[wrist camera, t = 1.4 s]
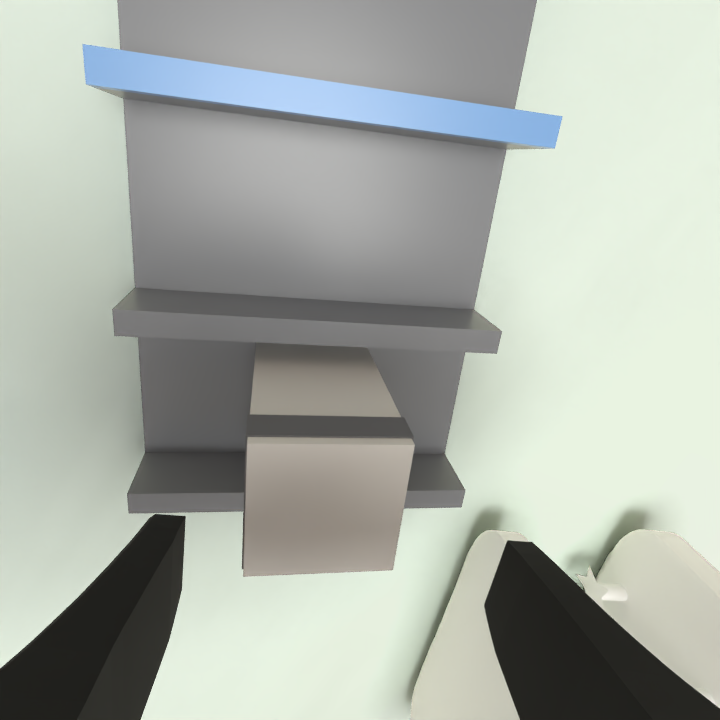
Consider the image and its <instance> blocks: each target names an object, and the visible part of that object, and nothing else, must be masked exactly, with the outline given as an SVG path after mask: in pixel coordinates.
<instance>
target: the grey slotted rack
mask: <svg viewBox="0 0 720 720" xmlns="http://www.w3.org/2000/svg"><path fill="white" fill-rule="evenodd" d="M536 2H537V0H118V17H119V33H120V49H121V50H118V49H112V48H105V47H98V46H92V45H85V44H83V55H84V67H85V78H86V84H87V85H89V86H92V87H95V88H97V89H100V90H102V91H105V92H108V93H110V94H113V95H116V96H118V97H121V98H124V115H125V131H126V147H127V164H128V180H129V196H130V213H131V229H132V245H133V262H134V278H135V288H134V289H133V290H132V291H131V292H130V293H129V294H128V295H127V296H126V297H125V298H124V299H123V300H122V301H121V302H120V303H119V304H118V305H116V306H115V307H114V308H113V309H112V310H113V323H114V335H115V336H130V337H138V343H139V360H140V376H141V392H142V408H143V425H144V441H145V454H144V456H143V459H142V461H141V463H140V466H139V468H138V470H137V472H136V475H135V477H134V479H133V482H132V484H131V486H130V489H129V491H128V493H127V498H128V510H129V513H176V512H231V511H244V475H245V438H246V426H247V416H248V414H250V407H251V396H252V385H253V374H254V363H255V352H256V342H258V343H280V344H301V345H323V346H344V347H366V348H368V350H369V352H370V354H371V356H372V358H373V360H374V362H375V364H376V366H377V368H378V371H379V373H380V375H381V377H382V379H383V381H384V383H385V385H386V387H387V389H388V391H389V393H390V395H391V397H392V399H393V401H394V403H395V405H396V407H397V409H398V412H399V414H400V416H401V417H404V418H405V420H406V422H407V424H408V426H409V428H410V430H411V432H412V434H413V436H414V439H413V442H414V444H415V447H414V453H413V458H412V464H411V470H410V475H409V481H408V487H407V492H406V498H405V504H404V508H452V507H462V503H463V499H464V494H465V489H464V487H463V485H462V483H461V482H460V480H459V478H458V476H457V475H456V473H455V471H454V469H453V468H452V466H451V464H450V462H449V461H448V459H447V457H446V455H445V454H444V453H445V449H446V444H447V439H448V434H449V429H450V424H451V419H452V414H453V409H454V404H455V399H456V395H457V390H458V385H459V380H460V375H461V370H462V365H463V360H464V355H465V352H473V353H495V354H497V351H498V346H499V342H500V338H501V333H502V331H501V330H500V329H498V328H497V327H496V326H495V325H493V324H492V323H491V322H489V321H488V320H487V319H485V318H484V317H483V316H482V315H480V314H479V313H478V312H476V311H475V310H474V306H475V301H476V296H477V291H478V287H479V282H480V277H481V272H482V267H483V262H484V257H485V252H486V247H487V242H488V237H489V233H490V228H491V223H492V218H493V213H494V208H495V203H496V198H497V193H498V188H499V184H500V179H501V174H502V169H503V164H504V159H505V154H506V150H507V149H547V148H555V145H556V141H557V137H558V133H559V129H560V124H561V120H562V116H556V115H549V114H542V113H536V112H529V111H523V110H516V109H515V105H516V100H517V95H518V90H519V85H520V80H521V76H522V71H523V66H524V61H525V56H526V51H527V46H528V41H529V36H530V31H531V26H532V22H533V17H534V12H535V7H536Z"/></svg>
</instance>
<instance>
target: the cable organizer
mask: <svg viewBox="0 0 720 720" xmlns="http://www.w3.org/2000/svg"><path fill="white" fill-rule="evenodd" d="M507 540H511V541H524V542H529V541H528V540H527V539H526V537H524V536H523V535H522V534H520V533H518V532H509V531H498V530H487V531H485V532H483V533H481V534H480V535H479V536H478V537H477V539H476V540H475V542H474V543H473V545H472V547H471V548H470V550H469V551H468V554H467V556H466V559H465V562H464V564H463V567H462V570H461V572H460V575H459V578H458V580H457V583H456V586H455V589H454V591H453V594H452V596H451V598H450V601H449V603H448V606H447V608H446V611H445V613H444V616H443V618H442V621H441V623H440V625H439V628H438V630H437V633H436V635H435V638H434V639H433V641H432V643H431V646H430V648H429V651H428V653H427V656H426V658H425V661H424V663H423V665H422V668H421V671H420V674H419V677H418V679H417V682H416V684H415V687H414V691H413V696H412V702H411V720H520V718H519V716H518V713H517V710H516V708H515V705H514V702H513V700H512V697H511V694H510V692H509V689H508V686H507V684H506V681H505V678H504V675H503V673H502V670H501V667H500V665H499V662H498V659H497V656H496V653H495V650H494V646H493V642H492V638H491V634H490V630H489V626H488V622H487V617H486V613H485V608H484V603H485V601H486V598H487V595H488V592H489V590H490V587H491V584H492V581H493V578H494V576H495V573H496V570H497V567H498V565H499V562H500V559H501V556H502V554H503V551H504V548H505V545H506V543H507ZM576 575H577V576H578V578H579V580H580V581H581V583H582V585H583V586H584V588H585V593H586V594H587V595H588V596H589V597H591V598H592V599H593V600H594V601H595V602H596V603H597V604H598V605H599V606H600V607H601V608H602V609H603V610H604V611H605V612H606V613H607V614H608V615H610V616H611V617H612V618H613V619H614V620H615V621H616V622H617V623H618V624H619V625H620V626H621V627H623V628H624V629H625V630H626V631H627V632H628V633H629V634H630V635H631V636H633V637H634V638H635V639H636V640H637V641H638V642H639V643H640V644H642V645H643V646H644V647H645V648H646V649H647V650H649V651H650V652H651V653H652V654H653V655H654V656H655V657H657V658H658V659H659V660H660V661H661V662H662V663H664V664H665V665H666V666H667V667H668V668H669V669H671V670H672V671H673V672H674V673H676V674H677V675H678V676H679V677H680V678H682V679H683V680H684V681H685V682H687V683H688V684H689V685H690V686H692V687H693V688H694V689H696V690H697V691H698V692H699V693H701V694H702V695H703V696H705V697H706V698H707V699H708V700H710V701H711V702H712V703H714V704H715V705H716V706H717V707H719V708H720V572H719V571H718V570H717V569H716V568H715V567H713V566H712V565H711V564H710V563H709V562H708V561H707V560H706V559H705V558H704V557H703V556H702V555H701V554H700V553H699V552H697V551H696V550H695V549H694V548H693V547H692V546H691V545H690V544H689V543H688V542H687V541H686V540H685V539H683V538H682V537H681V536H679V535H677V534H675V533H672V532H665V531H655V530H644V529H639V530H634V531H632V532H630V533H628V534H626V535H625V536H624V537H623V538H622V539H621V540H620V541H619V542H618V543H617V545H616V546H615V547H614V549H613V550H612V551H611V552H610V553H609V554H608V556H607V558H606V560H605V562H604V564H603V565H602V567H601V569H600V571H599V573H598V575H597V577H596V579H595V577H594V575H593V573H592V570H591V568H590V565H589V569H588V573H587V576H586V577H585V576H582V575H579V574H576Z"/></svg>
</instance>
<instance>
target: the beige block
mask: <svg viewBox="0 0 720 720" xmlns="http://www.w3.org/2000/svg"><path fill="white" fill-rule="evenodd" d="M413 439H414V436H413V434H412V432H411V430H410V428H409V426H408V424H407V422H406V420H405V418H404V417H401V416H400V414H399V412H398V409H397V407H396V405H395V403H394V401H393V399H392V397H391V395H390V393H389V391H388V389H387V387H386V385H385V383H384V381H383V379H382V377H381V375H380V373H379V371H378V368H377V366H376V364H375V362H374V360H373V358H372V356H371V354H370V352H369V350H368V348H366V347H344V346H323V345H301V344H280V343H258V342H256V352H255V363H254V374H253V385H252V396H251V407H250V414H248V416H247V426H246V438H245V475H244V512H243V549H242V569H243V577H245V576H269V575H292V574H315V573H338V572H362V571H385V570H393V566H394V560H395V555H396V549H397V543H398V538H399V532H400V526H401V521H402V515H403V509H404V504H405V498H406V492H407V487H408V481H409V475H410V470H411V464H412V458H413V453H414V447H415V444H414V442H413Z"/></svg>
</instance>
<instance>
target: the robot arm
mask: <svg viewBox="0 0 720 720" xmlns="http://www.w3.org/2000/svg"><path fill="white" fill-rule="evenodd" d="M185 517H186V516H174V515H161V514H155V515H153V516H152V517H150V518H149V519H148V521H147V522H146V523H145V524H144V526H143V527H142V528H141V529H140V530H139V532H138V533H137V534H136V535H135V536H134V538H133V539H132V540H131V541H130V542H129V543H128V544H127V546H126V547H125V548H124V549H123V550H122V551H121V552H120V553H119V555H118V556H117V557H116V558H115V559H114V560H113V561H112V562H111V563H110V565H109V566H108V567H107V568H106V569H105V570H104V571H103V572H102V573H101V574H100V575H99V576H98V577H97V578H96V579H95V580H94V581H93V582H92V583H91V584H90V585H89V586H88V587H87V589H86V590H85V591H84V592H83V593H82V594H81V595H80V596H79V597H78V598H77V599H76V600H75V601H74V602H73V603H72V604H71V605H70V606H68V607H67V608H66V609H65V610H64V611H63V612H62V613H61V614H60V615H59V616H58V617H57V618H56V619H55V620H54V621H53V622H52V623H51V624H50V625H49V626H47V627H46V628H45V629H44V630H43V631H42V632H41V633H40V634H39V635H38V636H37V637H36V638H35V639H34V640H32V641H31V642H30V643H29V644H28V645H27V646H26V647H25V648H23V649H22V650H21V651H20V652H19V653H18V654H17V655H16V656H14V657H13V658H12V659H11V660H10V661H9V662H7V663H6V664H5V665H4V666H3V667H2V668H0V720H141V717H142V714H143V711H144V708H145V706H146V703H147V700H148V697H149V695H150V692H151V689H152V686H153V684H154V681H155V678H156V675H157V672H158V670H159V667H160V664H161V661H162V658H163V656H164V653H165V650H166V647H167V644H168V642H169V638H170V634H171V631H172V627H173V623H174V619H175V615H176V611H177V607H178V603H179V599H180V595H181V591H182V576H183V556H184V537H185ZM484 608H485V613H486V617H487V622H488V626H489V630H490V634H491V638H492V642H493V646H494V650H495V653H496V656H497V659H498V662H499V665H500V667H501V670H502V673H503V675H504V678H505V681H506V684H507V686H508V689H509V692H510V694H511V697H512V700H513V702H514V705H515V708H516V710H517V713H518V716H519V718H520V720H720V708H719V707H717V706H716V705H715V704H714V703H712V702H711V701H710V700H708V699H707V698H706V697H705V696H703V695H702V694H701V693H699V692H698V691H697V690H696V689H694V688H693V687H692V686H690V685H689V684H688V683H687V682H685V681H684V680H683V679H682V678H680V677H679V676H678V675H677V674H676V673H674V672H673V671H672V670H671V669H669V668H668V667H667V666H666V665H665V664H664V663H662V662H661V661H660V660H659V659H658V658H657V657H655V656H654V655H653V654H652V653H651V652H650V651H649V650H647V649H646V648H645V647H644V646H643V645H642V644H640V643H639V642H638V641H637V640H636V639H635V638H634V637H633V636H631V635H630V634H629V633H628V632H627V631H626V630H625V629H624V628H623V627H621V626H620V625H619V624H618V623H617V622H616V621H615V620H614V619H613V618H612V617H611V616H610V615H608V614H607V613H606V612H605V611H604V610H603V609H602V608H601V607H600V606H599V605H598V604H597V603H596V602H595V601H594V600H593V599H592V598H591V597H589V596H588V595H587V594H586V593H585V592H584V591H583V590H582V589H581V588H580V587H579V586H578V585H577V584H576V583H575V582H574V581H573V580H572V579H571V578H570V577H569V576H568V575H567V574H566V573H565V572H564V571H563V570H561V569H560V568H559V567H558V566H557V565H556V564H555V563H554V562H553V561H552V560H551V559H550V558H549V557H548V556H547V555H546V554H545V553H544V552H542V551H541V550H540V549H539V548H538V547H537V546H536V545H535V544H534V543H532V542H524V541H511V540H507V543H506V545H505V548H504V551H503V554H502V556H501V559H500V562H499V565H498V567H497V570H496V573H495V576H494V578H493V581H492V584H491V587H490V590H489V592H488V595H487V598H486V601H485V603H484Z"/></svg>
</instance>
